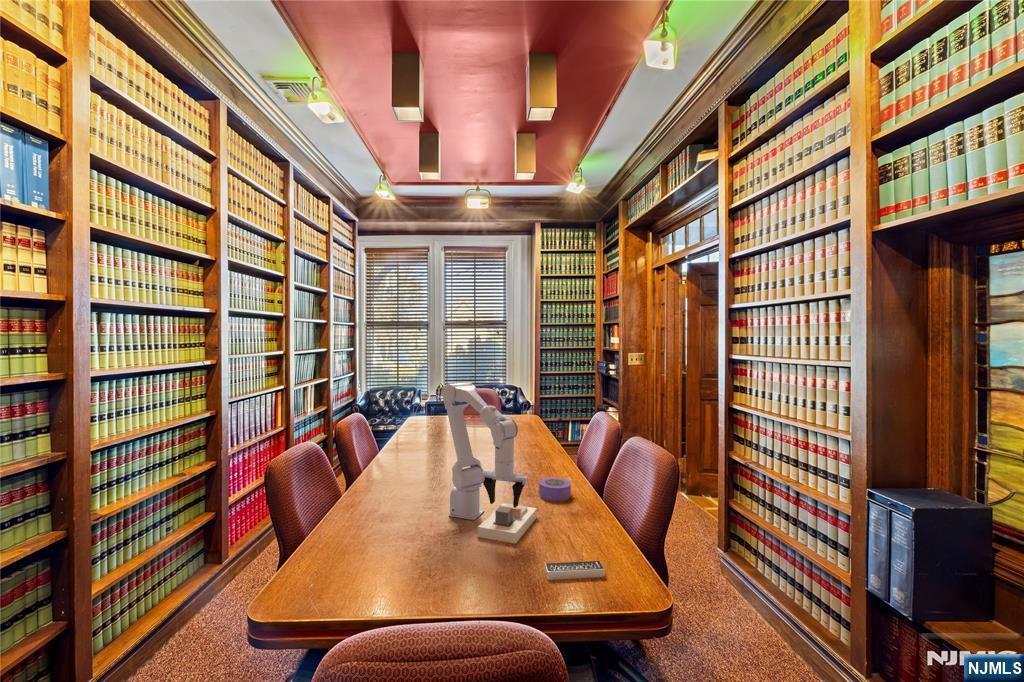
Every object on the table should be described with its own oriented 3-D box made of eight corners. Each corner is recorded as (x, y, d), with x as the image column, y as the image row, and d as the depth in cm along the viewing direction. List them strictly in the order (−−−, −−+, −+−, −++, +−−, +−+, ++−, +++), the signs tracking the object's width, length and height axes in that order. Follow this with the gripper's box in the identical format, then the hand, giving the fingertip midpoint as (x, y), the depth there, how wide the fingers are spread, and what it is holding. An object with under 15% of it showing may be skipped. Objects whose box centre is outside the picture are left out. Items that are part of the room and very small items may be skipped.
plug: (495, 534, 135) (495, 510, 135) (500, 528, 139) (500, 506, 139) (507, 536, 134) (507, 512, 134) (512, 530, 138) (512, 507, 138)
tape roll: (577, 497, 167) (577, 483, 167) (552, 503, 160) (552, 489, 160) (556, 488, 176) (556, 475, 176) (532, 494, 170) (532, 480, 170)
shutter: (499, 514, 142) (499, 506, 142) (507, 506, 149) (507, 498, 149) (520, 517, 140) (520, 509, 140) (527, 509, 146) (527, 501, 146)
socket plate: (477, 536, 133) (477, 526, 133) (503, 512, 152) (503, 503, 152) (515, 543, 129) (515, 533, 129) (536, 517, 148) (537, 508, 148)
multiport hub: (544, 571, 114) (544, 562, 114) (599, 569, 116) (599, 560, 116) (547, 581, 110) (547, 572, 110) (605, 578, 112) (605, 569, 111)
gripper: (477, 461, 135) (476, 505, 136) (522, 466, 130) (522, 512, 130) (486, 455, 142) (486, 497, 142) (530, 460, 137) (529, 504, 137)
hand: (504, 504), depth 137 cm, fingers open, 7 cm apart
